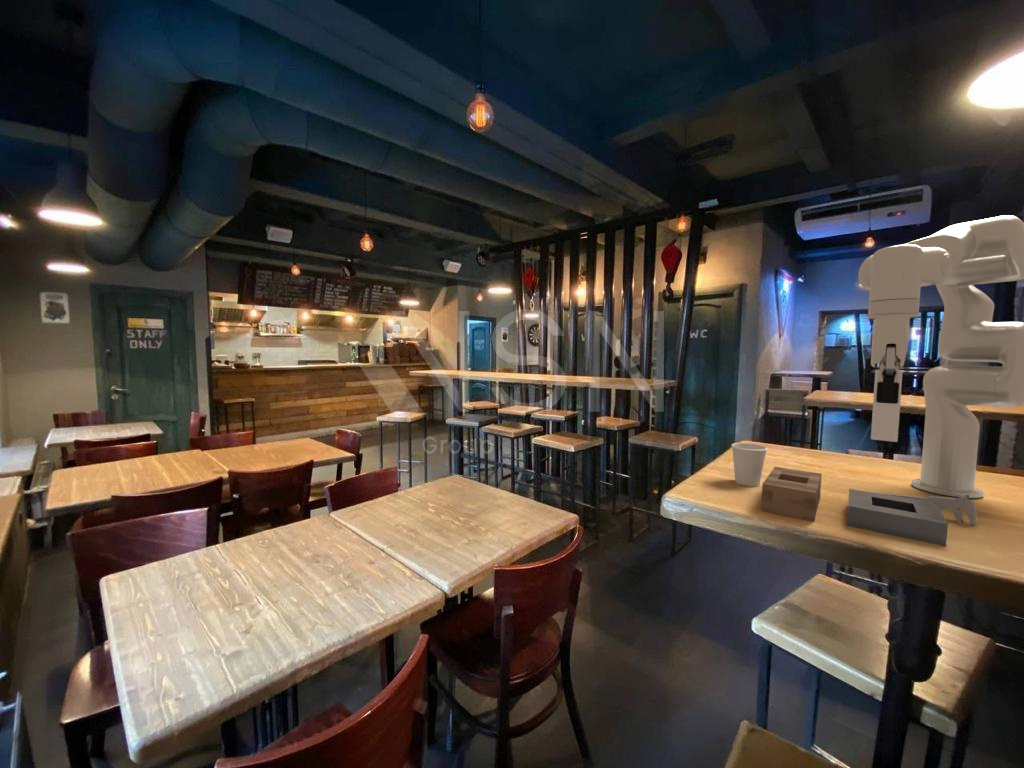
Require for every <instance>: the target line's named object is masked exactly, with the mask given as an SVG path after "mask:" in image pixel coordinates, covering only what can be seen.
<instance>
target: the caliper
mask: <svg viewBox="0 0 1024 768" xmlns="http://www.w3.org/2000/svg"><path fill="white" fill-rule="evenodd" d="M872 492H873V493H879V494H885V495H891V496H897V497H903V498H910V499H916V500H922V501H928V502H934V503H937V505H938V507H939V508H940V510H941V511H942V510H943V511H944V510H950V511H951V513H952V514H953V516H954V518H955V519H956V520H955V521H956V522H957V523H960V522H963V523H964V517H963V513H962V510H964V509H965V511H966V514H967V518H968V522H969V525H970V526H974V525H976V524H977V516H978V509H977V507H976V503H975V500H972V499H971V498H969V494H968V495H965V496H964V497H963V496H962V495H961V494H958V497H949V496H946V497H944V496H937V495H935V496H934V495H928V496H927V497H926V496H925V497H924V496H914V495H907V494H897V493H896V494H895V493H885V492H876V491H875V492H874V491H872Z"/></svg>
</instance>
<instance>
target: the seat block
mask: <svg viewBox="0 0 1024 768" xmlns="http://www.w3.org/2000/svg"><path fill="white" fill-rule="evenodd" d="M848 489H849V490H848V501H847V503H848V504H847V518H846V520H847V521H846V526H849V527H854V528H858V529H863V530H867V531H873V532H878V533H883V534H887V535H892V536H896V537H901V538H907V539H910V540H911V539H912V540H915V541H916V540H917V541H921V542H926V543H931V544H936V545H940V546H947V541H948V540H947V538H948V528H949V527H948V526H949V524H948V522H947V519H946V518H945V517H944V514H943V513H942V510H940V508H939V507H938V505H937V503H934V502H928V501H922V500H916V499H910V498H903V497H897V496H891V495H885V494H879V493H880V492H877V493H873V492H874V491H868V490H867V491H865V490H860V489H854V488H848Z"/></svg>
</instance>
